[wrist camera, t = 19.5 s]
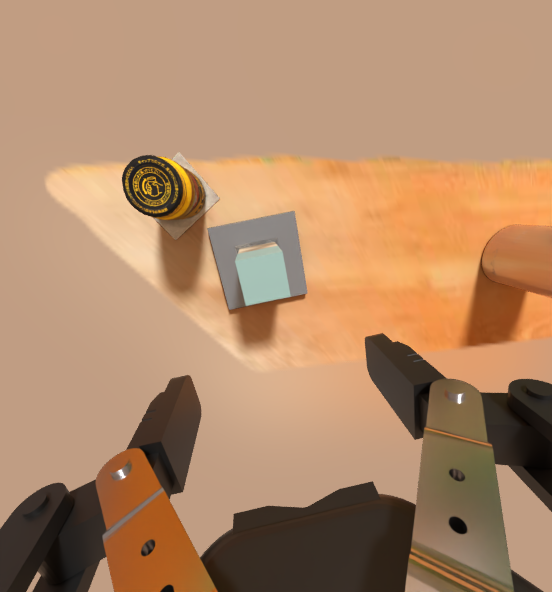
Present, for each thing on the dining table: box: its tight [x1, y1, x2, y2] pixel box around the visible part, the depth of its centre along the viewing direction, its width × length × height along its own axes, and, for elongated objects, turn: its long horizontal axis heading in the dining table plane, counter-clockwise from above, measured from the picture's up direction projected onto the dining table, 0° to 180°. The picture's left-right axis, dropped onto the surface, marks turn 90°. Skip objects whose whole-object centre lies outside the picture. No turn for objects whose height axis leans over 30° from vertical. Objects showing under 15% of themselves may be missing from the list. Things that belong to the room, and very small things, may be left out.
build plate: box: [207, 211, 307, 310], centre depth 38 cm, size 12×12×1 cm
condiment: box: [122, 152, 220, 240], centre depth 29 cm, size 7×8×12 cm
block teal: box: [235, 246, 291, 306], centre depth 30 cm, size 5×5×5 cm
